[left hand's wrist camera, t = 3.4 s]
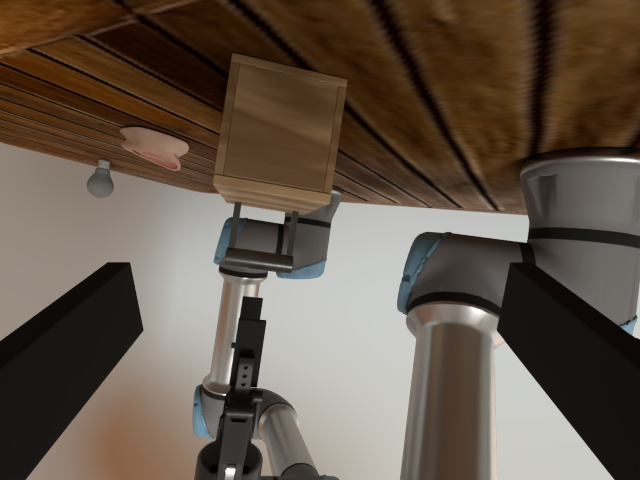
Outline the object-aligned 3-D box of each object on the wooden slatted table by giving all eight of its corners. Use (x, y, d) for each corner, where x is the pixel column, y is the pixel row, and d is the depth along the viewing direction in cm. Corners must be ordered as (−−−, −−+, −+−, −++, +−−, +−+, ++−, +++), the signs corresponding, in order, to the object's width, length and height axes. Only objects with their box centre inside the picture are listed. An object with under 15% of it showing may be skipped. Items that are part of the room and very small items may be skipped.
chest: (317, 129, 46) (306, 207, 46) (239, 113, 45) (227, 194, 44) (347, 79, 31) (331, 193, 31) (232, 52, 30) (214, 173, 30)
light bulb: (113, 159, 92) (107, 198, 92) (120, 163, 98) (115, 200, 98) (87, 154, 91) (81, 194, 90) (96, 159, 96) (90, 196, 96)
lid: (305, 208, 47) (296, 272, 47) (227, 195, 45) (217, 262, 45) (331, 193, 31) (317, 289, 31) (214, 173, 30) (198, 275, 29)
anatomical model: (116, 146, 55) (194, 164, 60) (120, 120, 55) (197, 141, 61) (115, 159, 66) (181, 173, 72) (119, 137, 66) (184, 153, 72)
